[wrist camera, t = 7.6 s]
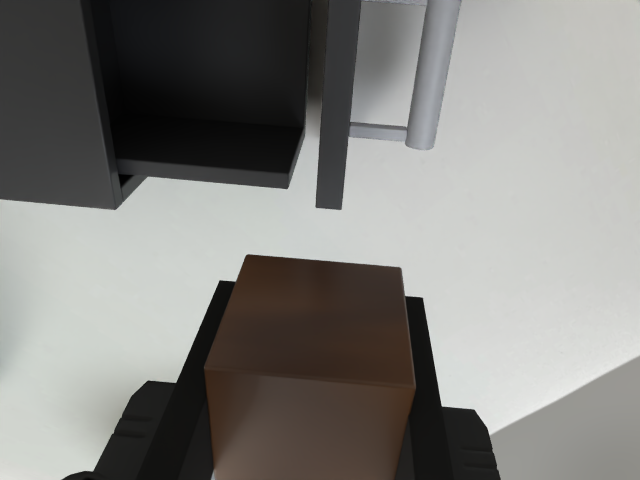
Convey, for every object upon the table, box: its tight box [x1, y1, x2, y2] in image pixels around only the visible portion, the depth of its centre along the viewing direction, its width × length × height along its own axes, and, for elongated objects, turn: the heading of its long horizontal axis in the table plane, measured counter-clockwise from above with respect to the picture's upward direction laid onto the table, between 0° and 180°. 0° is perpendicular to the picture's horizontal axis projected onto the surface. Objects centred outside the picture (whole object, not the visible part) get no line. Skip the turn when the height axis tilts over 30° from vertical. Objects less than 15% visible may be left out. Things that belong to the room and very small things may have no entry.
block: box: [204, 254, 416, 480], centre depth 13 cm, size 4×4×4 cm
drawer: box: [90, 0, 461, 210], centre depth 23 cm, size 18×11×8 cm, turn 86°
